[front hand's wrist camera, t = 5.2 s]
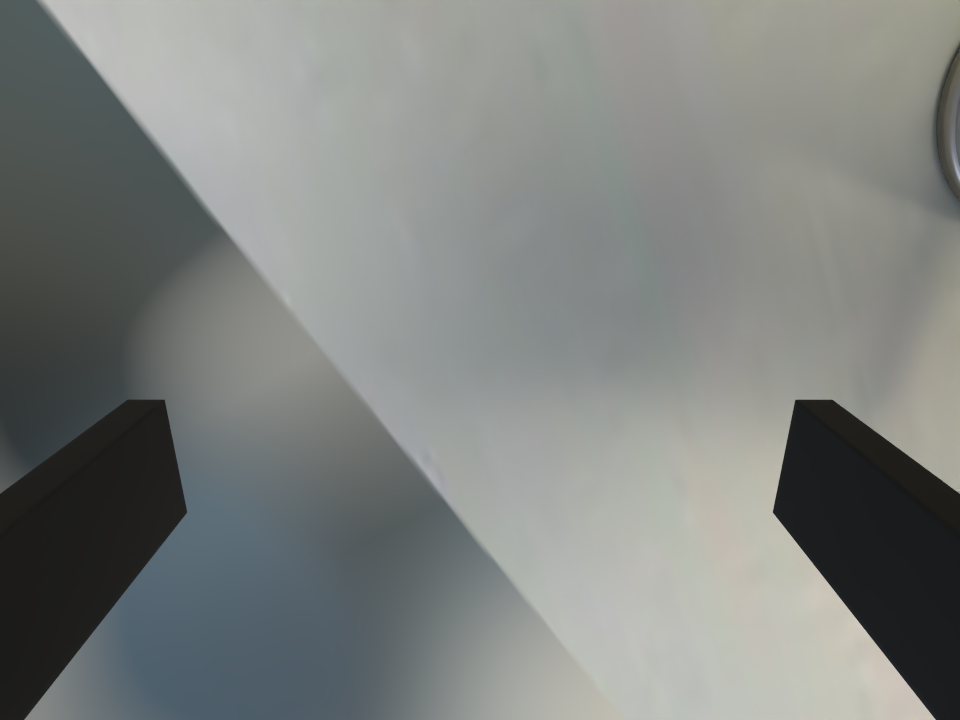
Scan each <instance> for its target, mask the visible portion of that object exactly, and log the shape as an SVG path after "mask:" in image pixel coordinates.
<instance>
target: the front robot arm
mask: <svg viewBox="0 0 960 720" xmlns="http://www.w3.org/2000/svg"><path fill="white" fill-rule="evenodd" d="M937 144H938V151H939V158H940V162H941V166H942V169H943V172H944V175H945V177H946V180H947V182H948V184H949V186H950V187H951V189H952V191H953V192H954V194H955V195H956V197H957V198H958V200H959V201H960V49H959V51H958V53H957V55H956V57H955V59H954V62H953V64H952V66H951V69H950V71H949V73H948V76H947V79H946V82H945V85H944V88H943V92H942V97H941V101H940V106H939V113H938V122H937ZM186 513H187V509H186V504H185V500H184V495H183V489H182V485H181V479H180V475H179V470H178V464H177V460H176V454H175V450H174V444H173V439H172V435H171V429H170V425H169V420H168V415H167V410H166V405H165V400H127V401H125V402H124V403H123V404H121V405H120V406H119V407H117V408H116V409H115V410H113V411H112V412H111V413H109V414H108V415H106V416H105V417H104V418H102V419H101V420H100V421H98V422H97V423H96V424H94V425H93V426H92V427H90V428H89V429H87V430H86V431H85V432H83V433H82V434H81V435H79V436H78V437H77V438H75V439H74V440H73V441H71V442H70V443H69V444H67V445H66V446H65V447H63V448H62V449H60V450H59V451H58V452H56V453H55V454H54V455H52V456H51V457H50V458H48V459H47V460H45V461H44V462H43V463H41V464H40V465H39V466H37V467H36V468H35V469H33V470H32V471H31V472H29V473H28V474H27V475H25V476H24V477H22V478H21V479H20V480H18V481H17V482H16V483H14V484H13V485H12V486H10V487H9V488H8V489H6V490H5V491H3V492H2V493H1V494H0V720H24V719H25V718H26V717H27V715H28V714H29V713H30V712H31V710H32V709H33V708H34V707H35V705H36V704H37V703H38V701H39V700H40V699H41V698H42V696H43V695H44V694H45V692H46V691H47V690H48V689H49V687H50V686H51V685H52V684H53V682H54V681H55V680H56V678H57V677H58V676H59V675H60V673H61V672H62V671H63V670H64V668H65V667H66V666H67V665H68V663H69V662H70V661H71V659H72V658H73V657H74V656H75V654H76V653H77V652H78V651H79V649H80V648H81V647H82V645H83V644H84V643H85V642H86V640H87V639H88V638H89V637H90V635H91V634H92V633H93V631H94V630H95V629H96V628H97V626H98V625H99V624H100V623H101V621H102V620H103V619H104V617H105V616H106V615H107V614H108V612H109V611H110V610H111V609H112V607H113V606H114V605H115V603H116V602H117V601H118V600H119V598H120V597H121V596H122V595H123V593H124V592H125V591H126V589H127V588H128V587H129V586H130V584H131V583H132V582H133V580H134V579H135V578H136V577H137V575H138V574H139V573H140V572H141V570H142V569H143V568H144V567H145V565H146V564H147V563H148V561H149V560H150V559H151V558H152V556H153V555H154V554H155V553H156V551H157V550H158V549H159V547H160V546H161V545H162V544H163V542H164V541H165V540H166V539H167V537H168V536H169V535H170V533H171V532H172V531H173V530H174V528H175V527H176V526H177V525H178V523H179V522H180V521H181V519H182V518H183V517H184V516H185V514H186ZM773 513H774V514H775V516H776V517H777V518H778V519H779V521H780V522H781V523H782V525H783V526H784V527H785V528H786V530H787V531H788V532H789V533H790V535H791V536H792V537H793V539H794V540H795V541H796V542H797V544H798V545H799V546H800V547H801V549H802V550H803V551H804V553H805V554H806V555H807V556H808V558H809V559H810V560H811V561H812V563H813V564H814V565H815V567H816V568H817V569H818V570H819V572H820V573H821V574H822V575H823V577H824V578H825V579H826V581H827V582H828V583H829V584H830V586H831V587H832V588H833V589H834V591H835V592H836V593H837V595H838V596H839V597H840V598H841V600H842V601H843V602H844V603H845V605H846V606H847V607H848V609H849V610H850V611H851V612H852V614H853V615H854V616H855V617H856V619H857V620H858V621H859V623H860V624H861V625H862V626H863V628H864V629H865V630H866V631H867V633H868V634H869V635H870V637H871V638H872V639H873V640H874V642H875V643H876V644H877V645H878V647H879V648H880V649H881V651H882V652H883V653H884V654H885V656H886V657H887V658H888V659H889V661H890V662H891V663H892V665H893V666H894V667H895V668H896V670H897V671H898V672H899V673H900V675H901V676H902V677H903V679H904V680H905V681H906V682H907V684H908V685H909V686H910V687H911V689H912V690H913V691H914V693H915V694H916V695H917V696H918V698H919V699H920V700H921V701H922V703H923V704H924V705H925V707H926V708H927V709H928V710H929V712H930V713H931V714H932V715H933V717H934V718H935V719H936V720H960V494H959V493H958V492H957V491H955V490H954V489H952V488H951V487H950V486H948V485H947V484H946V483H944V482H943V481H942V480H940V479H939V478H938V477H936V476H935V475H933V474H932V473H931V472H929V471H928V470H927V469H925V468H924V467H923V466H921V465H920V464H919V463H917V462H916V461H915V460H913V459H912V458H910V457H909V456H908V455H906V454H905V453H904V452H902V451H901V450H900V449H898V448H897V447H896V446H894V445H893V444H891V443H890V442H889V441H887V440H886V439H885V438H883V437H882V436H881V435H879V434H878V433H877V432H875V431H874V430H873V429H871V428H870V427H868V426H867V425H866V424H864V423H863V422H862V421H860V420H859V419H858V418H856V417H855V416H854V415H852V414H851V413H849V412H848V411H847V410H845V409H844V408H843V407H841V406H840V405H839V404H837V403H836V402H835V401H833V400H795V405H794V410H793V415H792V419H791V424H790V429H789V434H788V439H787V444H786V449H785V454H784V459H783V464H782V469H781V474H780V479H779V484H778V489H777V494H776V499H775V504H774V509H773Z"/></svg>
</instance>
